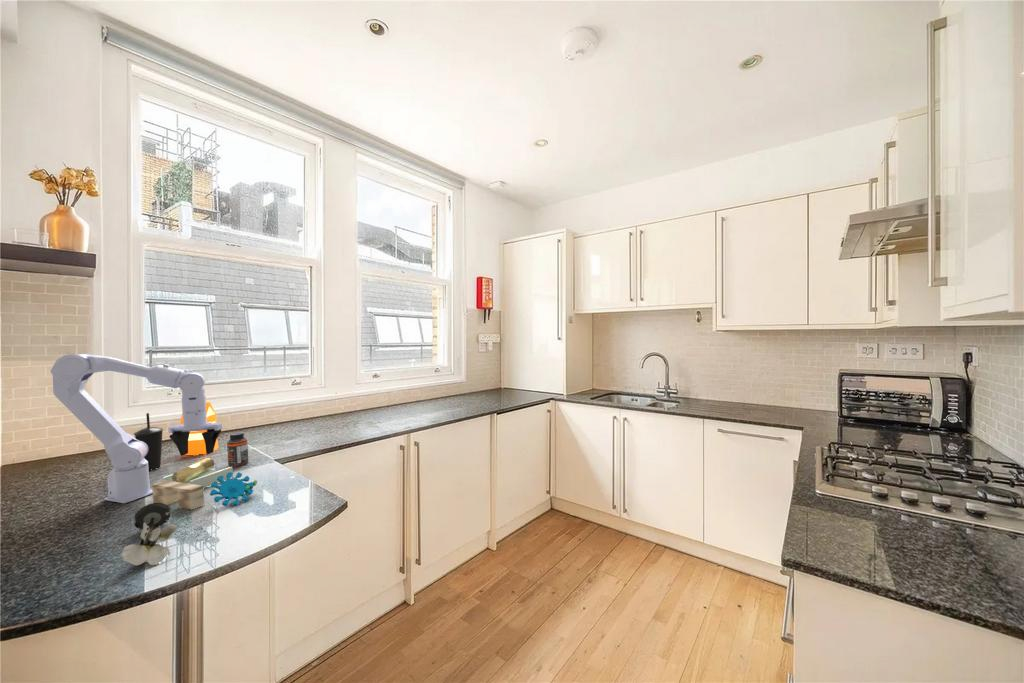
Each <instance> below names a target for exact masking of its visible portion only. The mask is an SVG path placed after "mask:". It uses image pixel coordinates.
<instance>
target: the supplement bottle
mask: <svg viewBox="0 0 1024 683" xmlns="http://www.w3.org/2000/svg"><path fill="white" fill-rule="evenodd" d="M244 436H245V434H244V432H243V431H237V432H233V433H230V434H229V439H228V441H227V443H226V447H227V449H226V451H227V464H228V467H230V466H231V467H232V468H233V467H234V466H236V467H241V466H244V465H247V464H248V463H249V446H248V444H249V443H248V438H246V437H244ZM246 463H247V464H246ZM234 468H235V467H234Z"/></svg>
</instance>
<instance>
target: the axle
mask: <svg viewBox="0 0 1024 683" xmlns="http://www.w3.org/2000/svg"><path fill="white" fill-rule="evenodd" d="M214 466H215V461H214V460H213V459H212V458H211V457H206V458H203V459H202V460H198V461H197V462H195V463H192V464H191V465H188V466H186V467H184V468H182V469H179V470H177V471H175V472H174V473H172V474H173V475H172V474H171V475H172V481H174V482H181V483H185V482H187V481H189V480H191V479H193V478H195V477H197V476H199V475H201V474H202V473H204V472H206V471H209V470H212V469H214Z"/></svg>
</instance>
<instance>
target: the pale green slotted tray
mask: <svg viewBox="0 0 1024 683" xmlns="http://www.w3.org/2000/svg"><path fill="white" fill-rule="evenodd" d="M233 471H234V469H233V467H230V466H228V467H226V468H223V469H220V470H217V469H216V468H212V469H210V470H208V471H206V472H204V473H202V474H201V475H199V476H197V477H195V478H193V479H191V480H189V481H187V482H185V483H188V484H195V485H202V486H203V488H205V487H207V486H210V485H212V484H213V482H217V483H218V482H219V481H218V480H217V478H218V477H219V476H223V477H224V478H223V481H224V480H226V481H227V477H226V475H227V473H234V472H233ZM173 474H174V473H172V474H169V475H166V476H163V477H162V481H164V480H166V481H172V475H173ZM231 477H233V478H234V474H233V475H232V476H231ZM231 477H230V478H231ZM231 479H232V478H231ZM218 484H219V483H218ZM210 487H211V486H210ZM205 489H206V488H205Z"/></svg>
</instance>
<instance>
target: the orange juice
mask: <svg viewBox="0 0 1024 683" xmlns="http://www.w3.org/2000/svg"><path fill="white" fill-rule="evenodd" d="M206 415H207V423H218V422H217V421H218V420H217V413H216V412H215V409H214V408H213V406H212V404H211V402H210V401H209V402H206ZM180 425H183V412H182V414H181V417H180ZM204 432H207V431H190V434H189V439H188V454H186V455H193V456H199V454H203V455H208V454H207V453H206V447H205V441H204V438H203V436H202V433H204ZM218 449H219V441H218V438H217V440H216V443H215V447H214V451H216V450H218Z"/></svg>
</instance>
